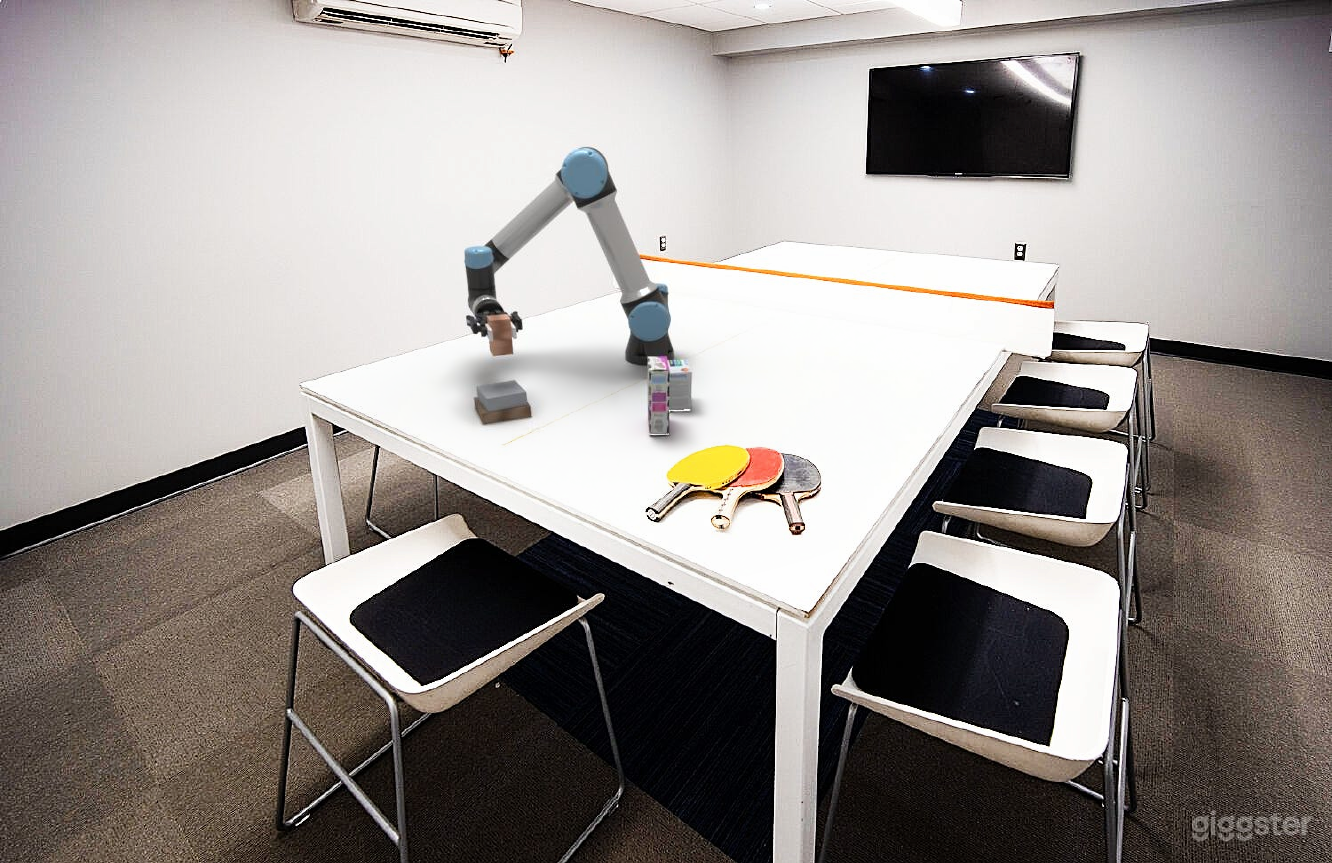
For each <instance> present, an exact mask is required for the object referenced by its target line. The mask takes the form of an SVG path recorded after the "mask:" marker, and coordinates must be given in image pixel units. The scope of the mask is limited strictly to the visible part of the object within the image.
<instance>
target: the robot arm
mask: <svg viewBox="0 0 1332 863" xmlns="http://www.w3.org/2000/svg"><path fill="white" fill-rule="evenodd" d="M554 178H555V179H554V180H553V181H552V182H551V183H549V185H548V186H547V187H545V188H544V189H543V190H542V191H541V192H540V193H539V194H538V195H537V196H535V198H534V199H533V200H531V202H530V203H528V205H526V206H525V207H524V208H523V209H522V210H521V211H520V212H519V213H518V214H516V215H515V216H514V217H513V218H512V219H511V220H510V221H509V222H508V223H507V224H505V225H504V227H502V229H501V230H499V231H498V232H497V233H496V234H495V235H494V236H493V237H492V238H491V239H490V240H488V242H486V244H484V245H477V246H475V245H474V246H470V247H469V246H468V247H466V248H465V249H464V252H463V253H464V261H463V262H464V266H465V267H464V268H465V272H466V273H465V275H466V284H467V293H468V297H467V306H468V309H469V310H470V312H471V313H472V314H473V315H469V314H467V315H465V318H466V319H465V320H466V326H467V327H469V328H470V329H471V331H472V332H471V333H472V334H473V335H478V334H479V333H480V335H481V336H480V337H481V338H485V337H487V340H488V341H489V340H490V341H493V333H492V329H491V327H490V326H489V324H487V316H492V315H503V314H507V315H508V316H509V318H510V320H511V333H512V340H517V338H518V336H517V333H519V331H523V330H524V329H523V326H524V325H523V320H522V318H521V317H520V316H519V313H518V310H516V311H513V312H510V313H508V312H506V311H505V310H504V308H503V307H502V305H501V304H500V302H499V301H498V300H497V290H496V281H495V274H496V273H497V271H499V270H500V269H502V267H503V266H504V265H505V264H506V263H508V262H509V261H510V260H511V258H513V257H514V255H516V254H517V253H518V252H519V251H520V250H521V249H522V248H523V247H525V246H526V245H527V244H528V243H530V241H532V239H534V238H535V237H536V236H537V235H538V234H539V233H540V232H542V230H544V229H545V228H546V227H547V226H549V224H550V223H551V222H553V221H554V220H555V219H556V218H557V217H558V216H559V215H560V214H561V213H563V211H564V210H566V209H567V208H568V207H569V206H570V205H571V204H572V203H573V202H574V203H575V207H576V208H577V210H579V211H581V212H584V214H585V215H586V217H587V220H588V221H589V223H590V225H591V228H592V230H593V233H594V235H595V236H596V238H597V241H598V243H599V245H600V248H601V251H602V252H603V254H604V257H605V258H606V261H607V263H608V266H609V267H610V270H611V272H612V275H613V276H614V278H615V281H616V283H617V285H618V287H619V290H620V292H621V297H620V299H619V302H620V304H621V308H622V310H623V312H624V313H625V315H626V316H625V317H626V318H627V320H628V322H627V324H628V328H629V331H630V333H629V337H628V340H627V341H628V342H627V344H626V347H625V352H624V355H625V358H624V359H625V361H627V362H629V363H631V364H636V365H644V366H645V365H646V366H648V357H653V356H667V360H675V350H674V346H673V343H672V341H671V338H670V335H669V329H670V326H671V322H672V320H671V319H672V317H671V313H670V308H669V289H668V286H667V285H666V284H664V283H657V282H653V281H651V280H650V278H649V275H648V273H647V271H646V268H645V265H644V264H643V261H642V259H641V257H640V255H639V252H638V250H637V248H636V245H635V244H634V241H633V239H632V236H631V234H630V232H629V228H628V226H627V225H626V222H625V220H624V217H623V216H622V213H621V210H620V208H619V206H618V204H617V201H616V196H617V193H618V189H617V188H616V185H615V183H614V181H613V178H612V176H611V172H610V171H609V164H608V161H607V159H606V157H605V156H604V154H603V152H600V151H599V150H598V149H596V148H595V147H590V146H583V147H582V146H581V147H580V148H577V149H574V150H572V151H571V152H569V153H568V154H567V155H566V157H565V158H564V159H563V162H562V165H561V169H559V170H558V171H557V172H556V173H555V177H554Z"/></svg>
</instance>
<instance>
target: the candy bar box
mask: <svg viewBox="0 0 1332 863" xmlns="http://www.w3.org/2000/svg"><path fill="white" fill-rule="evenodd" d="M669 392H670V370H669V366H668V360H667V356H653V357H648V365H647V422H648V423H647V424H648V433H650V434H668V433H669V434H670V412H669Z"/></svg>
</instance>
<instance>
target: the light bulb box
mask: <svg viewBox="0 0 1332 863" xmlns="http://www.w3.org/2000/svg"><path fill="white" fill-rule="evenodd" d="M668 366H669V370H670V392H669V410H684V409H691V410H692V383H693V382H692V381H693V379H692V378H693V375H692V374H693V372H692V368H691V365H690V363H689V359H686V358H685V359H673V360H668Z"/></svg>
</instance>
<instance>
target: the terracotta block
mask: <svg viewBox="0 0 1332 863" xmlns="http://www.w3.org/2000/svg"><path fill="white" fill-rule="evenodd" d="M487 324H489V326H490V327H491V329H492V333H493V341H490V340H489V339H488V343H489V351H490V353H491V355H492V357H499V356H507V355H514V347H513V337H512V333H511V320H510V318H509V316H508V315H507V314H503V315H492V316H487Z"/></svg>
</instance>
